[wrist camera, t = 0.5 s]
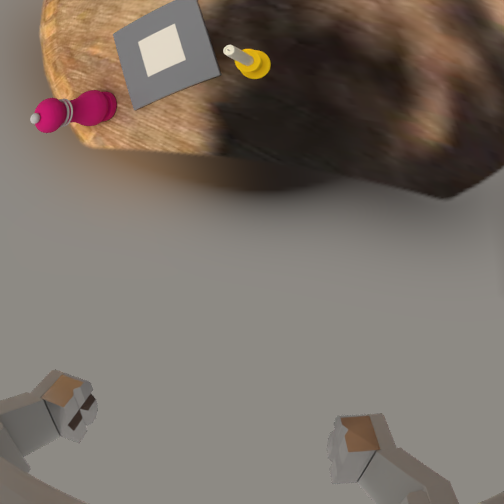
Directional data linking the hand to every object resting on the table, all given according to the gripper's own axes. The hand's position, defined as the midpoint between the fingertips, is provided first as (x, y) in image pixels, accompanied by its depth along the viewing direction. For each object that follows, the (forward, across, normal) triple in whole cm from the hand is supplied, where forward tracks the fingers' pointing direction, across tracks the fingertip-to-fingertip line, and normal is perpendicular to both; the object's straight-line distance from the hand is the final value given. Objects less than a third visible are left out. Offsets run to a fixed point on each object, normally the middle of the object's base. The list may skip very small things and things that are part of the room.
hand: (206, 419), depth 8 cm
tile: (+44, +20, -29) cm, 57 cm away
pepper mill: (+49, +33, -20) cm, 62 cm away
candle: (+43, +3, -26) cm, 50 cm away
